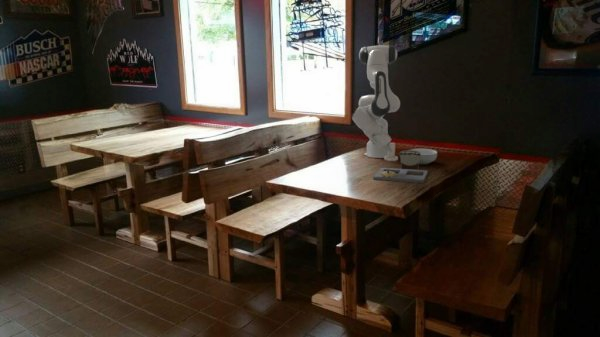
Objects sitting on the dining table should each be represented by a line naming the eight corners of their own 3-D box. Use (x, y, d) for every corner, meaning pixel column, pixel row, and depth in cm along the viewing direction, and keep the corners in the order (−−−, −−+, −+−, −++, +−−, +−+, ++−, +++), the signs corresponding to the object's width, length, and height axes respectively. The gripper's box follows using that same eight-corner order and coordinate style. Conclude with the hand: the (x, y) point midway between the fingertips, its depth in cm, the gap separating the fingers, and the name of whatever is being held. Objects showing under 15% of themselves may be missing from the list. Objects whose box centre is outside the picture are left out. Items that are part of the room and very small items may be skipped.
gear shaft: (385, 157, 274) (385, 141, 271) (398, 158, 271) (399, 142, 269) (382, 160, 267) (383, 144, 265) (396, 161, 264) (397, 144, 262)
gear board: (381, 170, 280) (381, 161, 279) (427, 173, 271) (428, 164, 270) (373, 179, 262) (373, 170, 261) (423, 182, 253) (423, 173, 252)
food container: (421, 167, 285) (421, 150, 282) (420, 169, 279) (421, 152, 276) (399, 166, 288) (399, 149, 285) (398, 169, 282) (399, 152, 280)
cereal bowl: (406, 165, 290) (406, 153, 288) (409, 159, 305) (409, 148, 304) (436, 166, 285) (436, 154, 283) (437, 160, 300) (437, 149, 299)
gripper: (374, 131, 258) (393, 150, 257) (382, 125, 277) (399, 143, 275) (366, 139, 261) (384, 158, 259) (374, 133, 279) (391, 151, 278)
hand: (392, 150), depth 268 cm, fingers closed on gear shaft, 4 cm apart
